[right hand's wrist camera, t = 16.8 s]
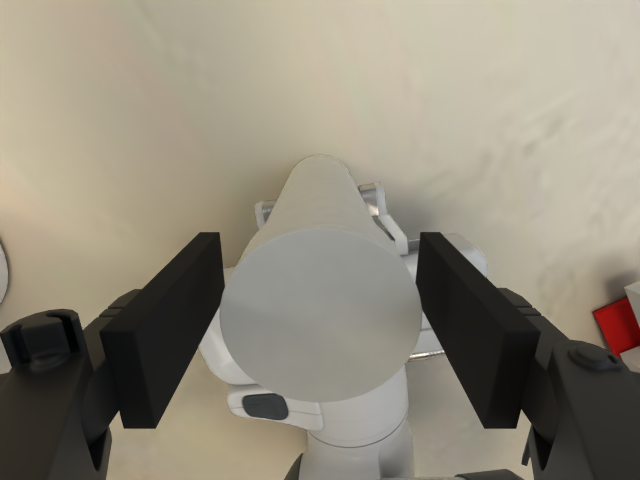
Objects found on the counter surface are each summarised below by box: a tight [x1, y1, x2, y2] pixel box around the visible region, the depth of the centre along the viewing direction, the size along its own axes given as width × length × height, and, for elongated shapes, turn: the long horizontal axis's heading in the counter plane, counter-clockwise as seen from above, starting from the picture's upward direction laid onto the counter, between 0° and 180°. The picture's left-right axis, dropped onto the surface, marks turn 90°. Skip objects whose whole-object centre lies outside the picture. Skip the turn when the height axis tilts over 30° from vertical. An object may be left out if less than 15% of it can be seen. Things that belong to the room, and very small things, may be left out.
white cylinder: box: [219, 206, 422, 403], centre depth 11 cm, size 6×6×2 cm
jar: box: [266, 155, 375, 224], centre depth 19 cm, size 5×5×19 cm
